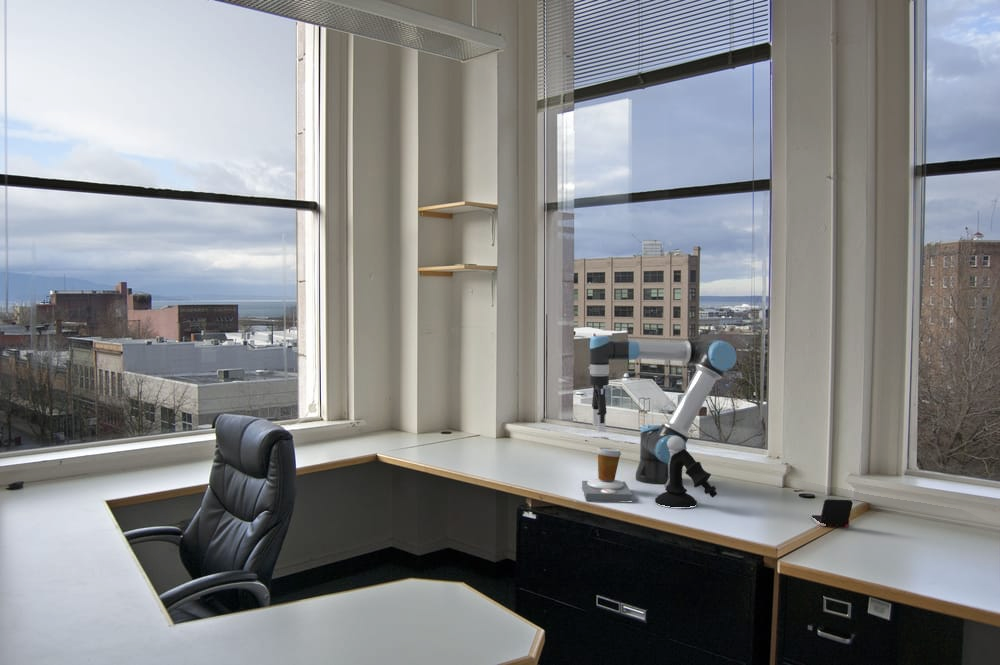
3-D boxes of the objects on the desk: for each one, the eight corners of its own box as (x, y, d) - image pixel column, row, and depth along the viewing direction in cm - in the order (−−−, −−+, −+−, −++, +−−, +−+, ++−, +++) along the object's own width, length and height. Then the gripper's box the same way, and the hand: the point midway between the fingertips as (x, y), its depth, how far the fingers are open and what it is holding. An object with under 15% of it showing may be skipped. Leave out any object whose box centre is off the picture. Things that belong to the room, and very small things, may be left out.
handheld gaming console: (838, 520, 260) (839, 491, 260) (852, 530, 248) (854, 500, 248) (810, 519, 261) (811, 490, 260) (823, 529, 248) (824, 499, 248)
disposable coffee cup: (600, 481, 290) (603, 450, 290) (590, 476, 299) (593, 446, 299) (622, 482, 292) (625, 452, 293) (612, 477, 302) (615, 448, 302)
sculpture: (667, 495, 289) (669, 431, 288) (725, 507, 273) (727, 439, 272) (647, 503, 278) (648, 436, 277) (706, 516, 262) (708, 445, 261)
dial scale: (624, 489, 299) (624, 479, 299) (632, 502, 279) (632, 491, 279) (581, 488, 299) (582, 478, 299) (586, 501, 279) (586, 490, 279)
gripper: (585, 372, 309) (584, 423, 310) (594, 378, 284) (594, 433, 285) (603, 372, 309) (603, 423, 310) (614, 378, 284) (614, 433, 285)
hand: (598, 428), depth 297 cm, fingers open, 13 cm apart
